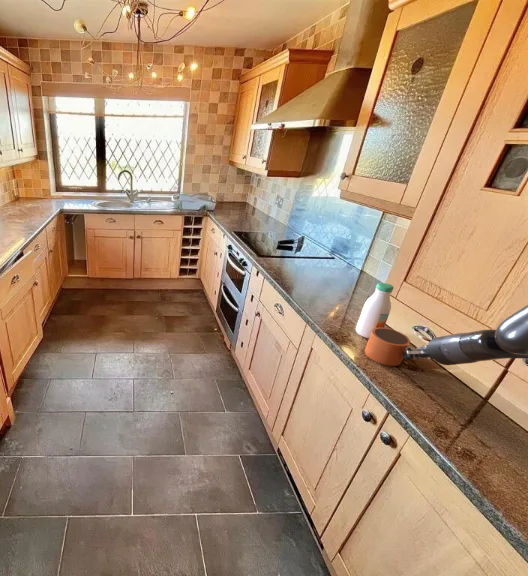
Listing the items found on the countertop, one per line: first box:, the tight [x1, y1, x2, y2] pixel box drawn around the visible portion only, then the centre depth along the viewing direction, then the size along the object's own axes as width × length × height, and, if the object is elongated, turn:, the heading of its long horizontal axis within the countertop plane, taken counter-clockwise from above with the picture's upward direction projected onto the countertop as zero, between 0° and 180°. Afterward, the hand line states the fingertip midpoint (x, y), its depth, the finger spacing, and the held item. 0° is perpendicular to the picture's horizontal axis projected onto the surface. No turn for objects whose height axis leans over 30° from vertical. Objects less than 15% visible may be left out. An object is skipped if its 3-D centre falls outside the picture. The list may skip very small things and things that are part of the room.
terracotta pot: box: [364, 327, 411, 367], centre depth 101 cm, size 10×10×8 cm
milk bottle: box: [355, 282, 394, 339], centre depth 109 cm, size 8×8×20 cm
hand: (405, 356), depth 96 cm, fingers closed
